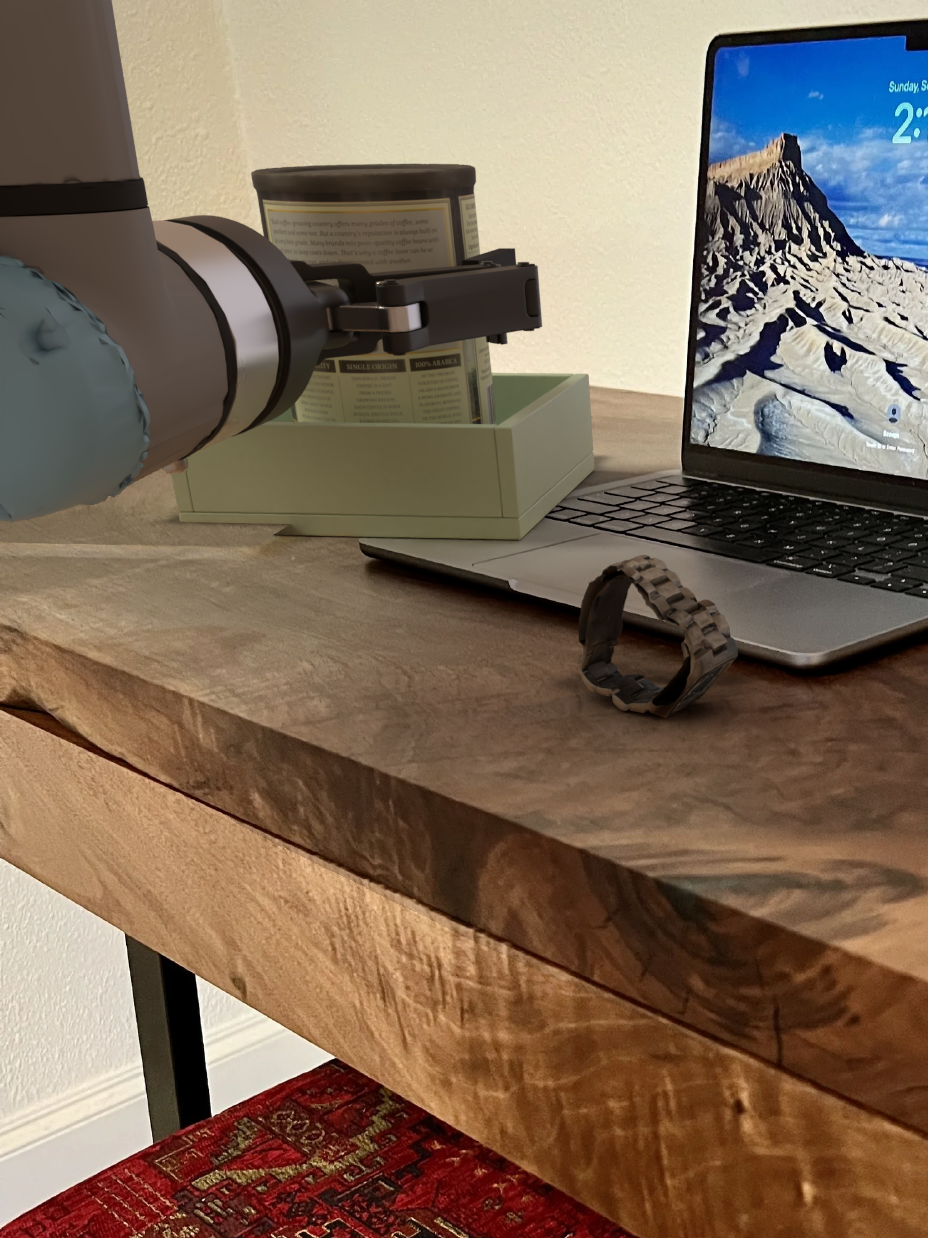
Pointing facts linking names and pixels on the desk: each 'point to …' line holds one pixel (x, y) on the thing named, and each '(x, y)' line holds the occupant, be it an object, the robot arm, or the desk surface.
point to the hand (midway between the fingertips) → (372, 279)
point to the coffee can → (382, 242)
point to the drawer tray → (403, 469)
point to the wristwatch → (671, 602)
